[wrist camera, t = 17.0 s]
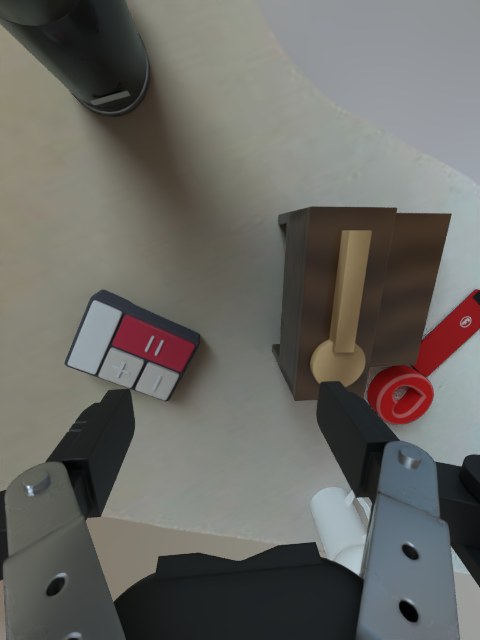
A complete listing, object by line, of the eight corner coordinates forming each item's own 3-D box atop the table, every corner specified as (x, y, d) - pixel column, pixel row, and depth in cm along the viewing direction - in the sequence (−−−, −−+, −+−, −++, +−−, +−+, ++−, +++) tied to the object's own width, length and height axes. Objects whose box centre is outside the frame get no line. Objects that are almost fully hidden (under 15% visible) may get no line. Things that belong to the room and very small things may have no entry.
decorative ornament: (428, 394, 47) (442, 405, 44) (380, 422, 48) (391, 435, 45) (409, 355, 44) (423, 363, 41) (358, 385, 45) (368, 396, 42)
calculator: (167, 406, 39) (60, 368, 35) (170, 389, 43) (74, 353, 39) (200, 344, 37) (89, 296, 33) (200, 332, 41) (101, 288, 37)
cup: (367, 478, 53) (400, 533, 43) (336, 520, 56) (361, 580, 46) (332, 468, 51) (358, 522, 41) (302, 511, 54) (320, 571, 45)
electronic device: (423, 376, 46) (495, 310, 43) (426, 378, 45) (499, 311, 42) (403, 358, 44) (476, 288, 41) (405, 359, 44) (479, 288, 41)
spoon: (307, 385, 29) (312, 393, 28) (322, 230, 24) (329, 230, 23) (356, 383, 30) (364, 391, 28) (381, 230, 25) (392, 230, 23)
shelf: (278, 214, 36) (311, 206, 23) (416, 216, 37) (514, 209, 25) (271, 351, 42) (294, 401, 30) (389, 347, 44) (458, 393, 31)
